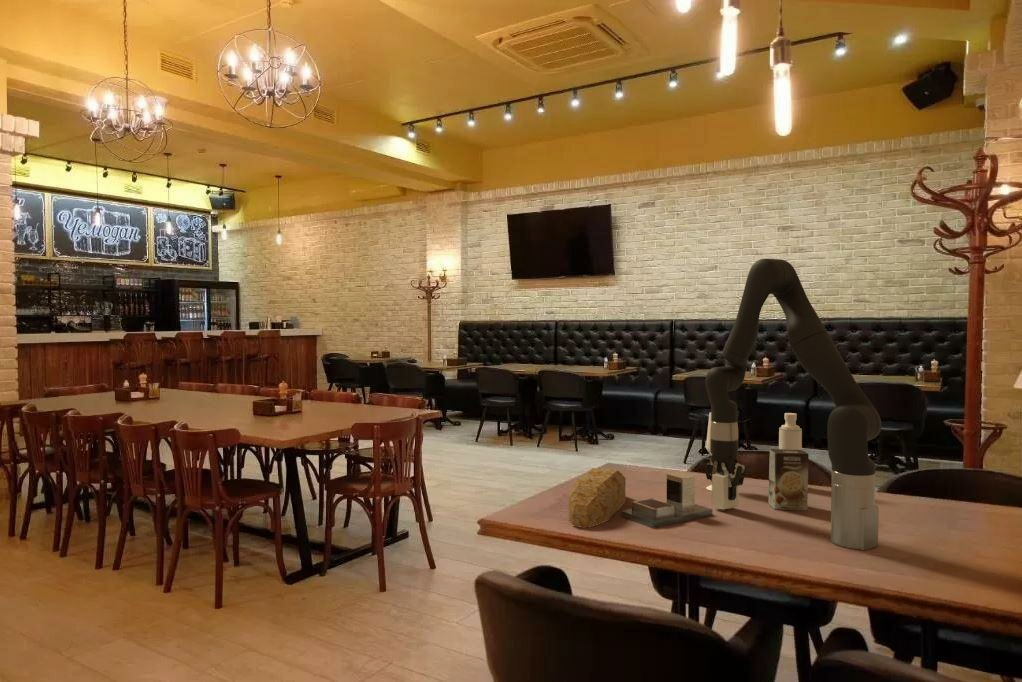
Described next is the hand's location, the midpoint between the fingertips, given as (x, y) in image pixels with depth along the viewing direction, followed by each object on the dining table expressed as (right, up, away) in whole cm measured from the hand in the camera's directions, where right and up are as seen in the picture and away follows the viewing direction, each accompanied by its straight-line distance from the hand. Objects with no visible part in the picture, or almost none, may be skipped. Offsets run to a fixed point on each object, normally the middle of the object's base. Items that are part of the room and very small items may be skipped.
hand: (724, 497), depth 190 cm
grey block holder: (-17, -4, -6) cm, 19 cm away
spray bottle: (+29, -3, +25) cm, 38 cm away
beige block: (0, -2, 0) cm, 2 cm away
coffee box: (+19, -3, +2) cm, 19 cm away
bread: (-36, -4, +1) cm, 36 cm away
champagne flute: (+5, -3, +23) cm, 24 cm away
